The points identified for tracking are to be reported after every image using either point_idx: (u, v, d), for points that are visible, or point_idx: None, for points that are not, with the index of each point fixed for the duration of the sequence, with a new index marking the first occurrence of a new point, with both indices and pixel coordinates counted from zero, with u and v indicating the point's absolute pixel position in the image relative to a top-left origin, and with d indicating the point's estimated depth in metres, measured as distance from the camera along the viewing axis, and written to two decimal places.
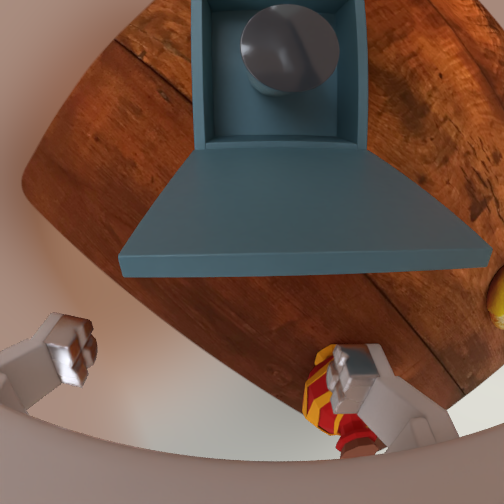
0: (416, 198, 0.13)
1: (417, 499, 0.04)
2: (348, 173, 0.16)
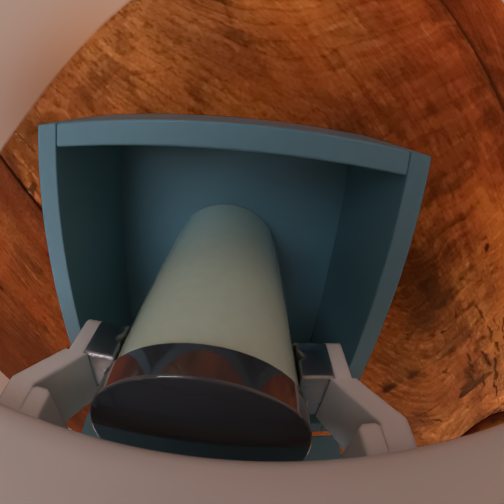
0: None
1: (417, 499, 0.04)
2: None
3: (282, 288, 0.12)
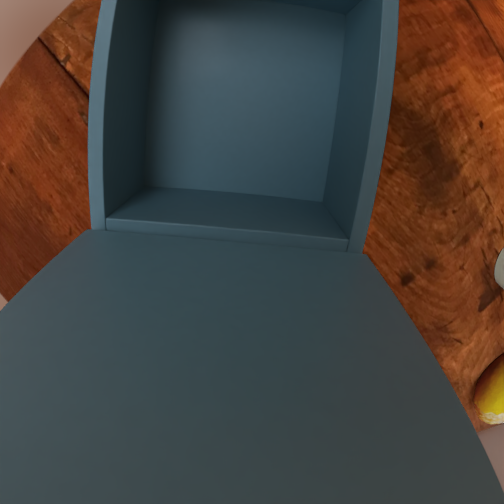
0: (443, 451, 0.05)
1: None
2: (316, 350, 0.08)
3: None
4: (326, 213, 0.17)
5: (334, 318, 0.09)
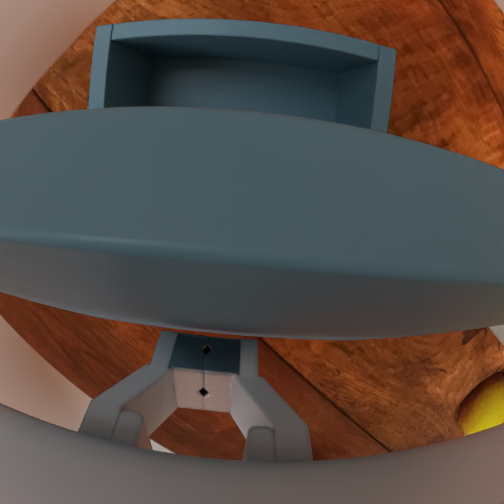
0: None
1: (417, 499, 0.04)
2: None
3: None
4: None
5: None
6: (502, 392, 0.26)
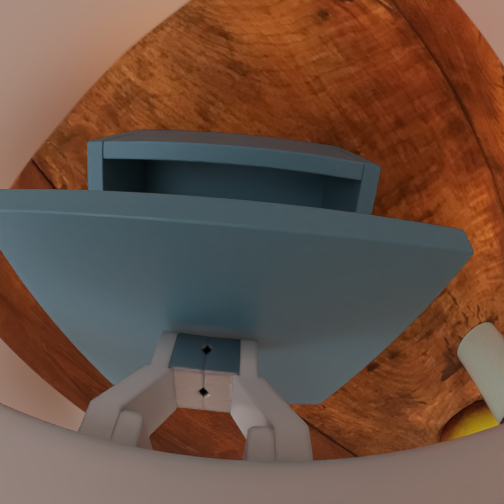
0: None
1: (417, 499, 0.04)
2: None
3: None
4: None
5: None
6: (481, 420, 0.28)
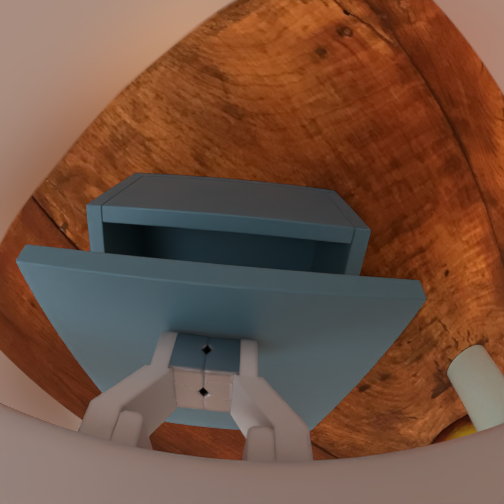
0: None
1: (417, 499, 0.04)
2: None
3: None
4: None
5: None
6: None
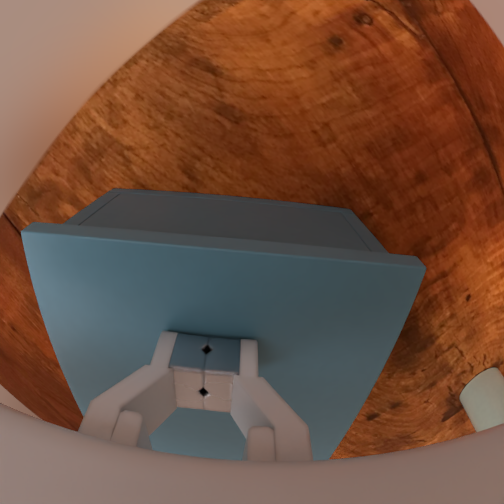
0: None
1: (417, 499, 0.04)
2: None
3: None
4: None
5: None
6: None
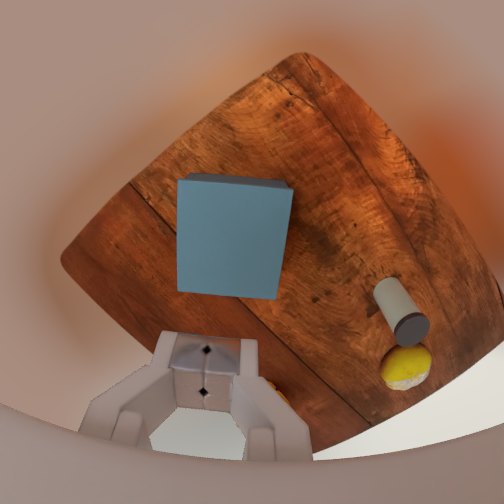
0: None
1: (417, 499, 0.04)
2: None
3: None
4: None
5: None
6: (406, 353, 0.51)
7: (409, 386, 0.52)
